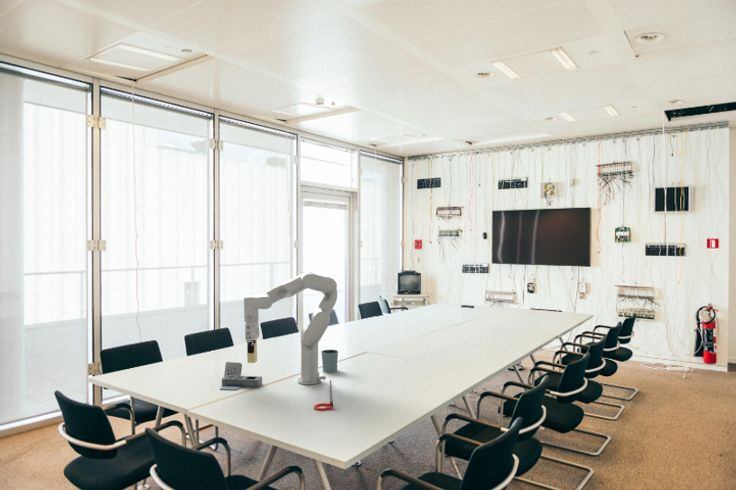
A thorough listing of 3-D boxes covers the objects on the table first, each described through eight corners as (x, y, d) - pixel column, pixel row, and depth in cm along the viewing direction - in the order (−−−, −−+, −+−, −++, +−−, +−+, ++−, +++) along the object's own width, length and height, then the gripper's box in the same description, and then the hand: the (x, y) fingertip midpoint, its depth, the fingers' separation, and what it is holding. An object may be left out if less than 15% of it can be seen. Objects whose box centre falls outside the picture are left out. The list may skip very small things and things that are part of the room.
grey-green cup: (335, 373, 292) (335, 353, 292) (319, 372, 294) (319, 352, 294) (339, 369, 302) (339, 349, 302) (324, 368, 304) (324, 348, 304)
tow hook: (313, 412, 228) (333, 410, 229) (312, 384, 228) (332, 382, 228) (313, 406, 236) (333, 404, 237) (312, 379, 236) (332, 378, 237)
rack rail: (262, 383, 270) (262, 376, 270) (257, 387, 263) (257, 380, 263) (226, 382, 272) (226, 375, 272) (221, 386, 266) (221, 378, 265)
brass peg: (257, 360, 269) (256, 342, 269) (254, 362, 265) (254, 344, 265) (250, 360, 270) (249, 342, 270) (247, 362, 266) (247, 344, 266)
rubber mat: (240, 387, 263) (240, 386, 263) (236, 390, 258) (236, 389, 258) (223, 386, 264) (223, 385, 264) (220, 389, 259) (220, 388, 259)
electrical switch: (223, 379, 280) (224, 362, 280) (227, 377, 285) (228, 361, 285) (238, 380, 278) (239, 363, 279) (242, 378, 283) (243, 362, 284)
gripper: (252, 321, 258) (253, 355, 259) (263, 316, 275) (263, 348, 275) (239, 321, 259) (239, 355, 259) (250, 316, 276) (250, 348, 276)
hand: (252, 351), depth 267 cm, fingers closed on brass peg, 4 cm apart
